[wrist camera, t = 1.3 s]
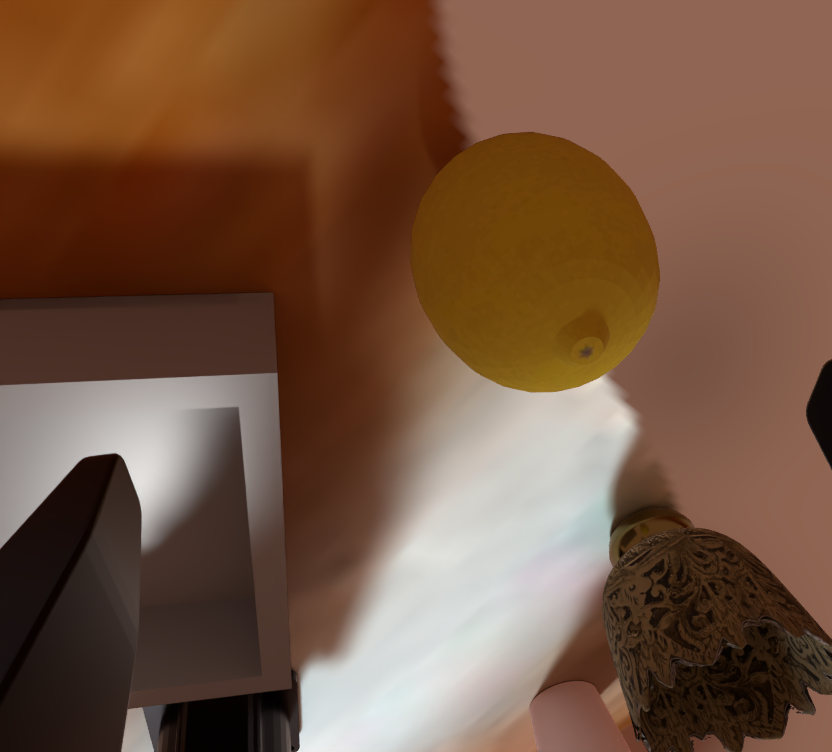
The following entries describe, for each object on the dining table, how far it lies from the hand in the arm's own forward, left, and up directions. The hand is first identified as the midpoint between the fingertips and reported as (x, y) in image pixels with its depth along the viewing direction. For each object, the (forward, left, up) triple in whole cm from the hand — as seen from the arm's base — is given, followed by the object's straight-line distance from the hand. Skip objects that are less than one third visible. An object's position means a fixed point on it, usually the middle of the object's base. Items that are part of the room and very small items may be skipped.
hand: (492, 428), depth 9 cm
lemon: (-2, -3, -13) cm, 13 cm away
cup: (-17, -12, -13) cm, 24 cm away
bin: (-12, +10, -12) cm, 20 cm away
